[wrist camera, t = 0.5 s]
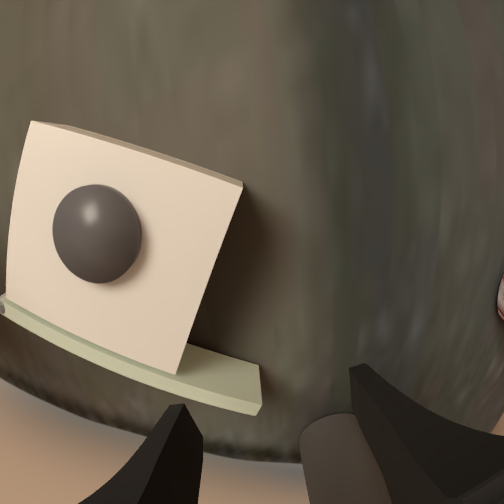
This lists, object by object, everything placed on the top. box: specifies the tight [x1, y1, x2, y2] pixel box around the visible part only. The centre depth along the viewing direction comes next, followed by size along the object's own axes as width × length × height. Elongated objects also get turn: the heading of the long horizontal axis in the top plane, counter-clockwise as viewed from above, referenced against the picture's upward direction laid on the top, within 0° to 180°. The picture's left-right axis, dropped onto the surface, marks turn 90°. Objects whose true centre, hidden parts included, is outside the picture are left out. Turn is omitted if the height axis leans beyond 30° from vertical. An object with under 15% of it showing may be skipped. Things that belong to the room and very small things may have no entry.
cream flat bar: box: [0, 292, 262, 416], centre depth 16 cm, size 17×1×4 cm, turn 69°
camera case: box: [6, 121, 243, 375], centre depth 15 cm, size 11×10×5 cm
